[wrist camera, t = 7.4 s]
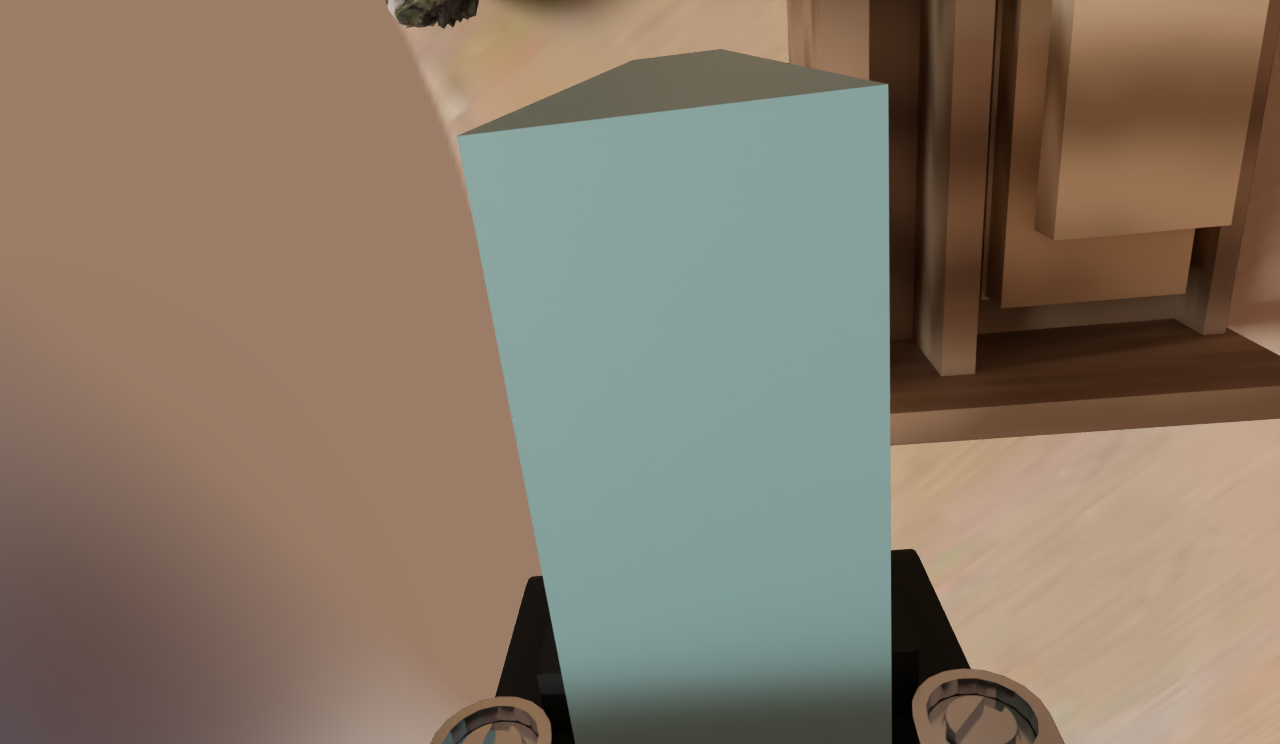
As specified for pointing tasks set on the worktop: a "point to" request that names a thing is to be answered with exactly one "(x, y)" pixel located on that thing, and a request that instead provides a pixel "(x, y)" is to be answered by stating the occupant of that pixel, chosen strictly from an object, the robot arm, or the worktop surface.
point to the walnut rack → (952, 248)
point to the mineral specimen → (431, 11)
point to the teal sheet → (701, 391)
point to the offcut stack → (1112, 143)
